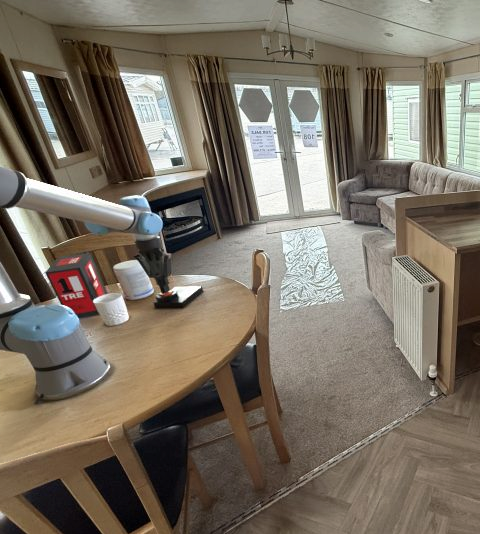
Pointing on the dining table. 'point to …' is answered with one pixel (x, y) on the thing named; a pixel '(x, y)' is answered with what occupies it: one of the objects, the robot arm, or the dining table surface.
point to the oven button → (166, 294)
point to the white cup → (111, 308)
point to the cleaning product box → (77, 283)
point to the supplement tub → (133, 280)
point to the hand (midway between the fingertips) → (165, 291)
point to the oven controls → (178, 297)
